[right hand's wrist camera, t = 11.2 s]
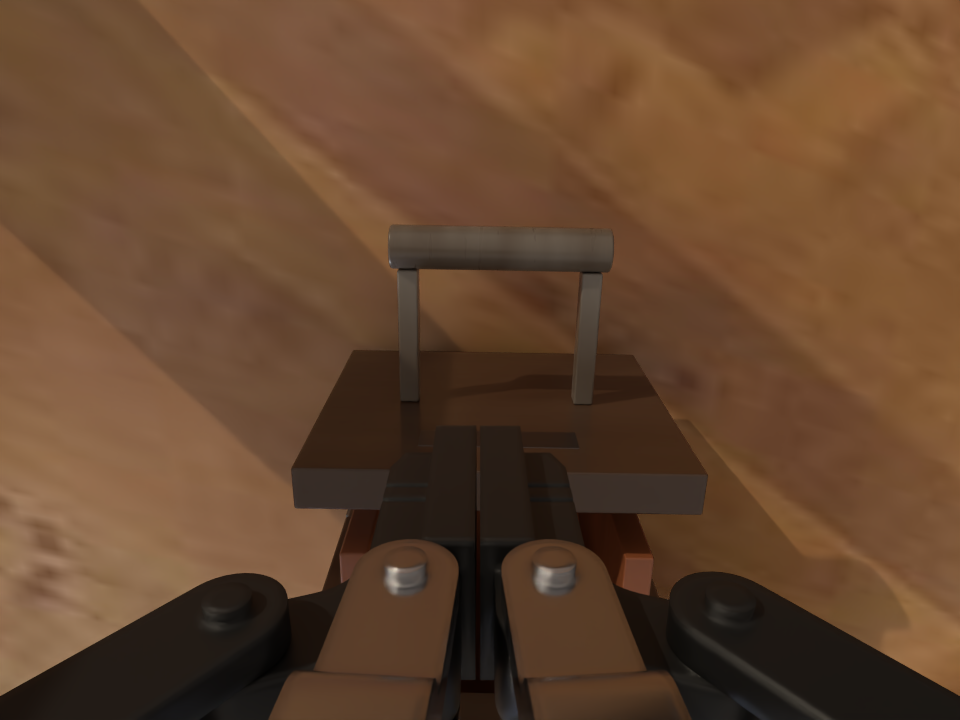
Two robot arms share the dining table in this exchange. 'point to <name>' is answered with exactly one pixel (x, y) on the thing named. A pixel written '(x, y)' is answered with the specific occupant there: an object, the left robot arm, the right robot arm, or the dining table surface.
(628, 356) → the drawer
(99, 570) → the dining table surface
